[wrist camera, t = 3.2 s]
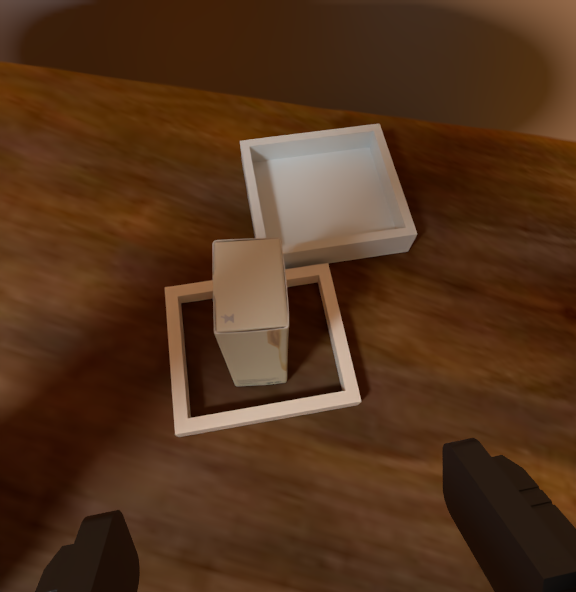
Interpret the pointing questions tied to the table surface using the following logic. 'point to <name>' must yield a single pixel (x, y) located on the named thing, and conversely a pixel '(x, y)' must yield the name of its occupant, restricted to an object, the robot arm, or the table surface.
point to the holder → (269, 411)
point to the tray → (327, 195)
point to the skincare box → (251, 309)
